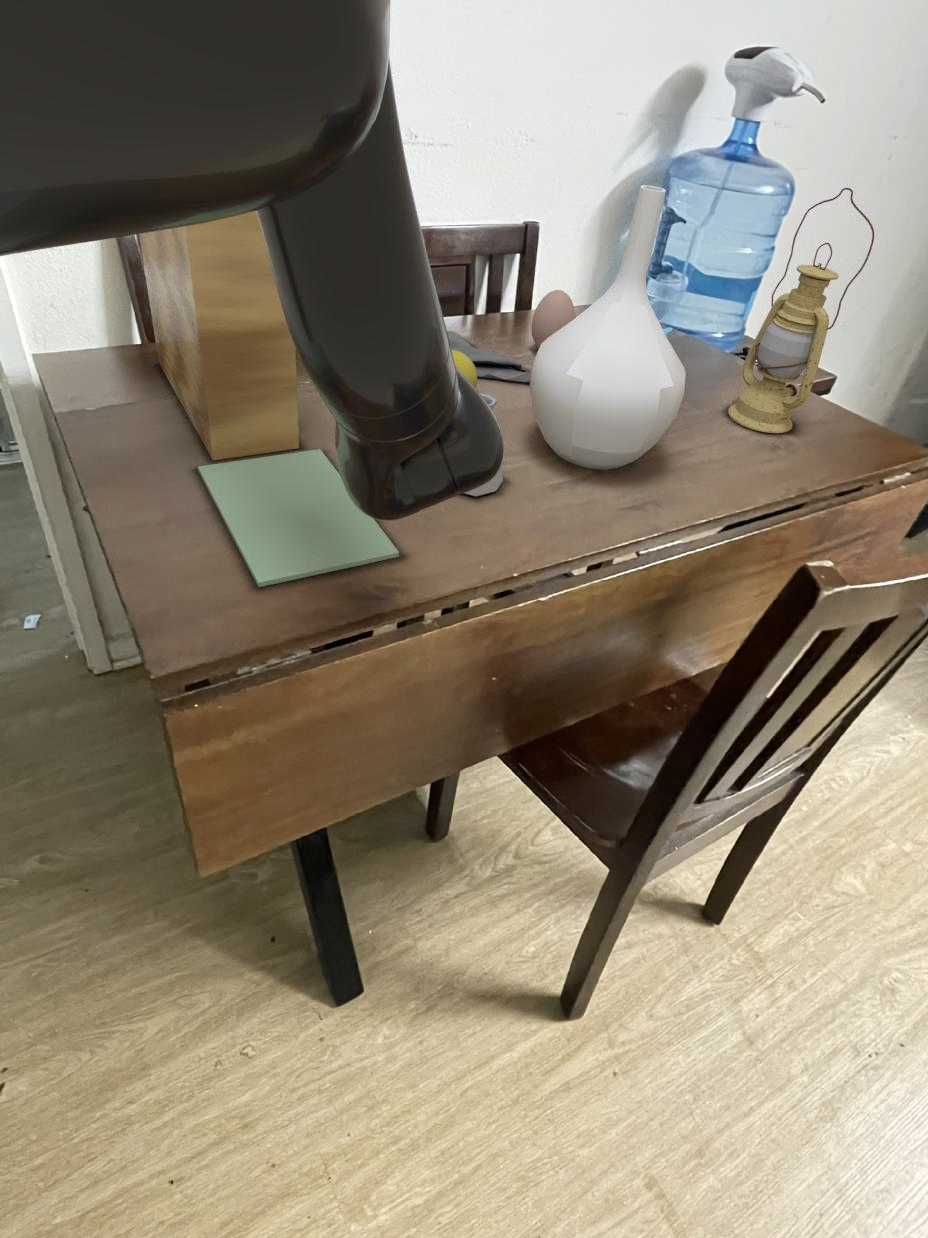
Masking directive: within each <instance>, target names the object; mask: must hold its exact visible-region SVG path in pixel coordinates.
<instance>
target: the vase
mask: <svg viewBox="0 0 928 1238" xmlns="http://www.w3.org/2000/svg"><path fill="white" fill-rule="evenodd" d="M666 192H667V191H666V189H665V188H663V187H659V186H655V185H640V187H639V191H638V195H637V198H636V202H635V207H634V210H633V214H632V219H631V221H630V226H629V230H628V233H627V238H626V242H625V246H624V249H623V254H622V259H621V263H620V268H619V272H618V273H617V275H616V277H615V279H614V281H613V283H612V284H611V286H609V288H608V289H607V291H605V293H604V294H603V295H602V296H600V297H599V298H598V299H597V300H595V301H594V302H593V303H592V304H590V305H589V306H588V307H587V308H586V309H584V310H583V311H582V312H581V313H579V315H578V316H576V318H575V319H574V320H572V321H571V322H569V323H568V324H567V325H565V326H564V327H562V328H561V329H560V330H558V331H557V332H555V333H554V334H553V335H551V336H550V337H548V338H547V339H546V340H545V341H544V342H543V343H542V344H541V345H540V348H538V350H537V352H536V355H535V358H534V360H533V363H532V367H531V374H530V375H531V380H530V383H529V391H530V398H531V404H532V411H533V416H534V419H535V421H536V423H537V425H538V428H539V430H540V433H541V435H542V437H543V439H544V441H545V443H547V445H548V446H549V447H550V448H551V450H552V451H553V452H554V453H555V454H556V455H557V456H558V457H559V458H561V459H562V460H564V461H566V462H568V463H570V464H573V465H575V466H578V467H581V468H586V469H591V470H592V469H593V470H603V471H604V470H606V471H607V470H614V469H615V470H616V469H619V468H621V467H624V466H627V465H628V464H631V463H632V462H635V461H637V460H639V458H641V457H642V456H643V455H645V454H646V453H647V452H648V451H649V450H651V449H652V448H653V447H655V446H656V444H658V443H659V441H660V440H661V438H662V437H663V436H664V434H665V433H666V432H667V430H668V429H669V427H670V426H671V424H672V423H673V421H674V420H675V419H676V417H677V415H678V413H679V411H680V408H681V406H682V403H683V399H684V396H685V390H686V389H685V388H686V376H687V374H686V369H685V366H684V364H683V362H682V361H681V359H680V357H679V355H678V354H677V353H676V351H675V349H674V347H673V346H672V344H671V342H670V341H669V339H668V336H667V337H666V335H665V333H664V331H663V329H664V328H663V327H662V325H661V323H660V321H659V319H658V318H657V315H656V313H655V311H654V309H653V307H652V305H651V302H650V300H649V296H648V295H649V294H648V292H647V275H648V269H649V266H650V262H651V259H652V254H653V251H654V245H655V242H656V236H657V232H658V229H659V223H660V219H661V214H662V210H663V206H664V200H665V197H666Z"/></svg>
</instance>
